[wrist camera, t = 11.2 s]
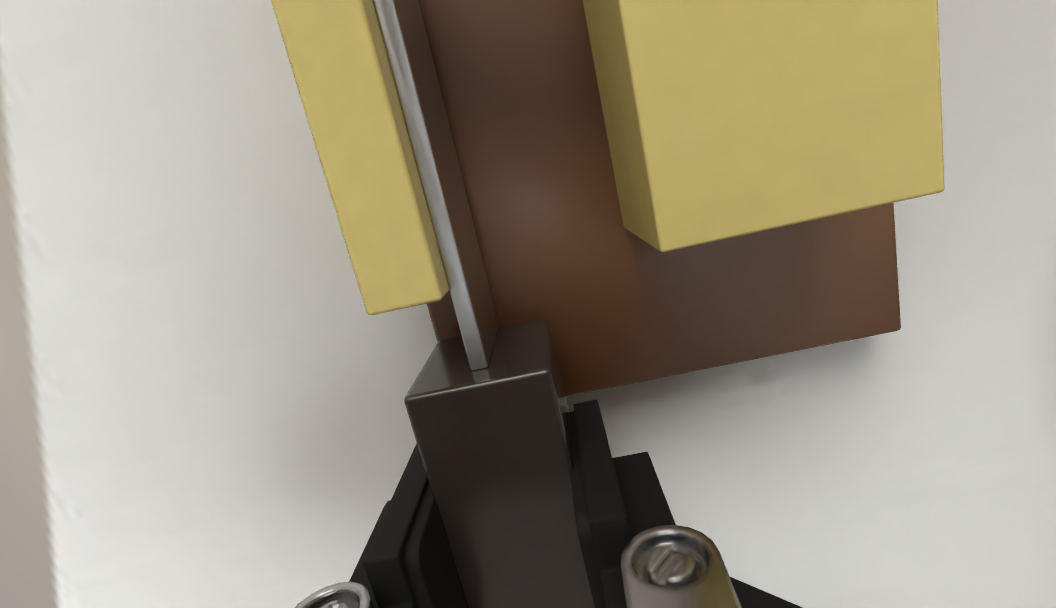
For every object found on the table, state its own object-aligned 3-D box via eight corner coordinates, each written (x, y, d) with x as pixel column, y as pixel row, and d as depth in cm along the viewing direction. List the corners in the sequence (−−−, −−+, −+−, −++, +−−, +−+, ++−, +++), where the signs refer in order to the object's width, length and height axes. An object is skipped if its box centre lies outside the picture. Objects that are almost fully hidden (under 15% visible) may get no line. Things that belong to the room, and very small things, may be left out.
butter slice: (316, -91, 10) (197, -232, 6) (378, -108, 10) (290, -260, 6) (418, 273, 11) (366, 317, 8) (472, 261, 11) (443, 300, 8)
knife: (313, -108, 9) (209, -235, 6) (445, -145, 9) (400, -293, 6) (511, 607, 13) (503, 735, 10) (609, 591, 13) (629, 717, 10)
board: (284, -265, 10) (250, -322, 9) (814, -428, 9) (853, -512, 8) (465, 398, 13) (457, 420, 12) (869, 316, 13) (902, 331, 11)
